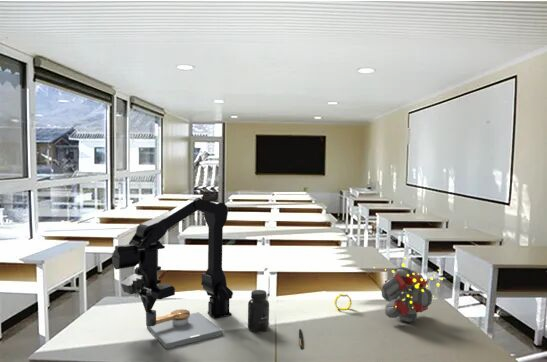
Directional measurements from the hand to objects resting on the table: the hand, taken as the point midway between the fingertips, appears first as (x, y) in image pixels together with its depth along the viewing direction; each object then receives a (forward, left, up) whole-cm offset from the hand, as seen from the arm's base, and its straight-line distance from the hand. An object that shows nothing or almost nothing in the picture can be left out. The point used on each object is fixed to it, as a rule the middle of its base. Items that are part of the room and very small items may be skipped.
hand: (148, 313), depth 132 cm
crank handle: (-6, +2, -3) cm, 7 cm away
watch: (-66, +17, -7) cm, 69 cm away
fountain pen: (-38, +29, -7) cm, 48 cm away
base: (-10, +4, -7) cm, 13 cm away
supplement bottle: (-31, +15, -7) cm, 35 cm away
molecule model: (-76, +37, -7) cm, 85 cm away
